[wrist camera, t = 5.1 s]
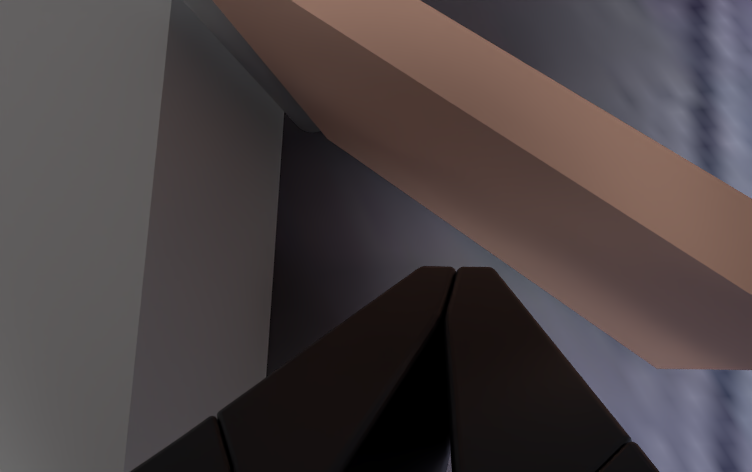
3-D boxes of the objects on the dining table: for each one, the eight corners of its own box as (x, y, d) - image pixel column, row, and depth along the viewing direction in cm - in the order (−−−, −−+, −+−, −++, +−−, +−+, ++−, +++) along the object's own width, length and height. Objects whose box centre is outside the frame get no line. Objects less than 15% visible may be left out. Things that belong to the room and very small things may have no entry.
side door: (284, 117, 19) (44, -140, 9) (310, 82, 19) (97, -211, 9) (651, 375, 16) (859, 390, 6) (681, 333, 16) (934, 284, 6)
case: (253, 556, 17) (103, 664, 11) (9, 530, 19) (-248, 614, 12) (285, 93, 19) (175, -36, 13) (64, 102, 21) (-131, -12, 15)
